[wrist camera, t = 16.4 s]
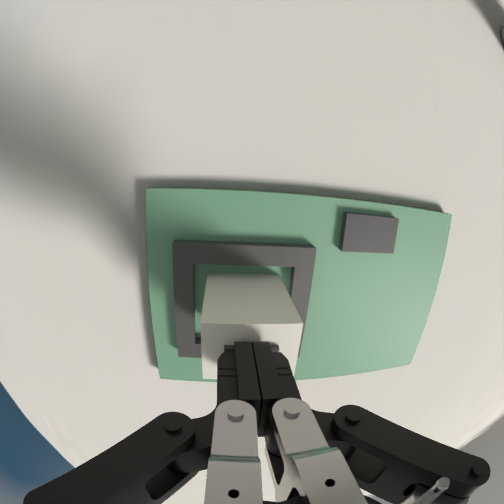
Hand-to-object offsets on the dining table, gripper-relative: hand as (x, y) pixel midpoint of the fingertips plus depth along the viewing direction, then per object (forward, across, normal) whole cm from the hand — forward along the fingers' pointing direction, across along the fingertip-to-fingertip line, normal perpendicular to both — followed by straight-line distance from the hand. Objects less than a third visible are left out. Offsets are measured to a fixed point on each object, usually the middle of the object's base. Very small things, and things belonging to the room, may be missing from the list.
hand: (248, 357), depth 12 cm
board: (+7, -5, 0) cm, 9 cm away
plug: (+6, 0, 0) cm, 6 cm away
